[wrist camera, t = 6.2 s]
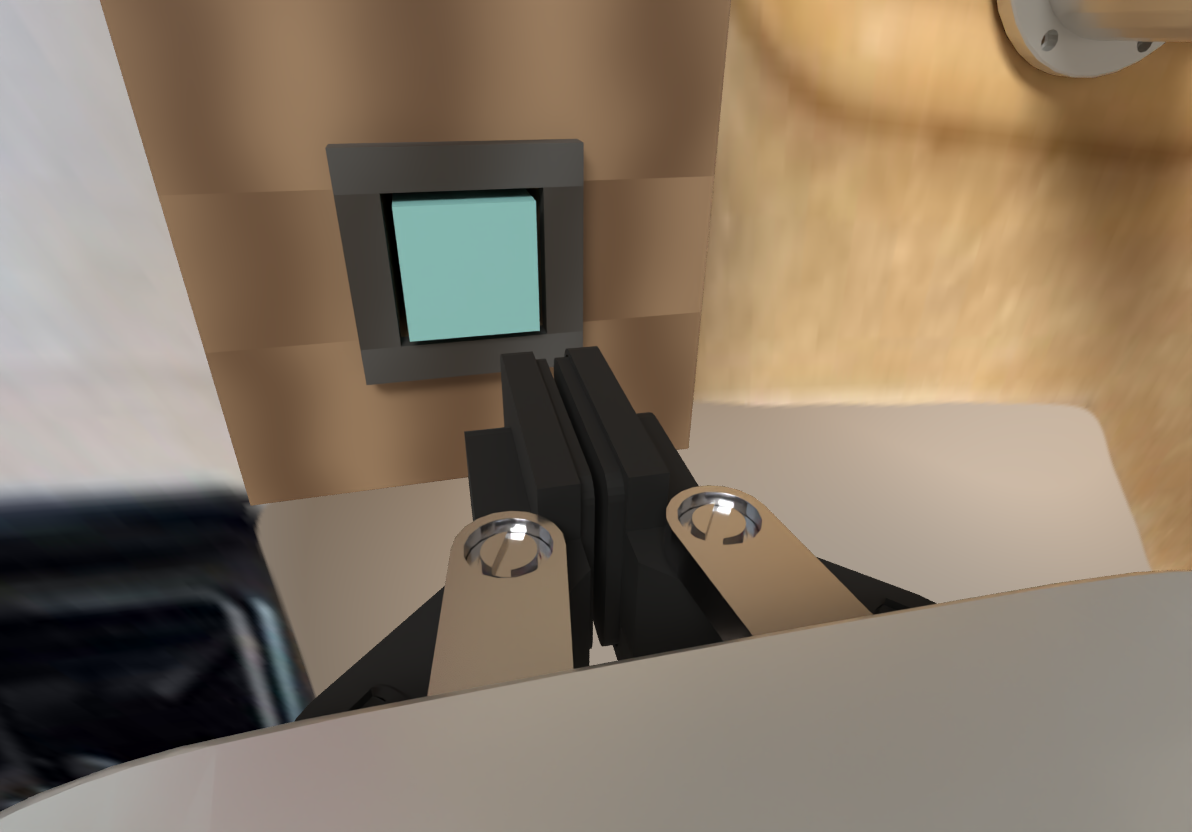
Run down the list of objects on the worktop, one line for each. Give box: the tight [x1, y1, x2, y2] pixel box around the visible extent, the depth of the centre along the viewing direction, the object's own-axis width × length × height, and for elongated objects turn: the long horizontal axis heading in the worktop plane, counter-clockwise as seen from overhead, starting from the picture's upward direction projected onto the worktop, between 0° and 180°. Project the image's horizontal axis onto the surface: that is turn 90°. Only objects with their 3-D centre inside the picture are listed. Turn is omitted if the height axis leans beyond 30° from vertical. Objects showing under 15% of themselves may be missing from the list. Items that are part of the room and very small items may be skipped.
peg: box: [392, 188, 540, 342], centre depth 24 cm, size 4×4×10 cm
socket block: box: [100, 0, 731, 505], centre depth 24 cm, size 16×16×10 cm
